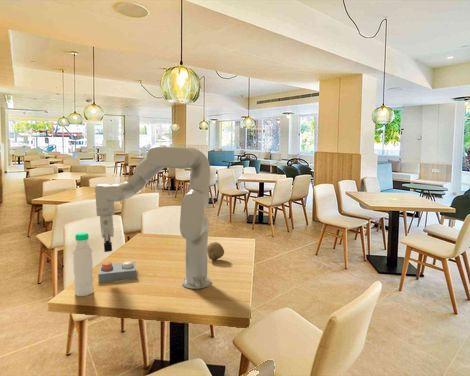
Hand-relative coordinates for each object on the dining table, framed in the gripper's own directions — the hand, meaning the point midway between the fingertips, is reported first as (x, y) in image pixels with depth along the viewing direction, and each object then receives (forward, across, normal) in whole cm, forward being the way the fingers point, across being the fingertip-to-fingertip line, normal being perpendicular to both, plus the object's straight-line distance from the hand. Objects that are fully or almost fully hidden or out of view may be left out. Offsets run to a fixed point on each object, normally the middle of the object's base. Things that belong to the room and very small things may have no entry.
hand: (108, 251), depth 152 cm
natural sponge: (+14, +8, -53) cm, 55 cm away
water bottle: (+12, -14, +10) cm, 21 cm away
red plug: (+11, +1, +1) cm, 11 cm away
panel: (+12, +1, -3) cm, 13 cm away
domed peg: (+11, +1, -8) cm, 14 cm away
